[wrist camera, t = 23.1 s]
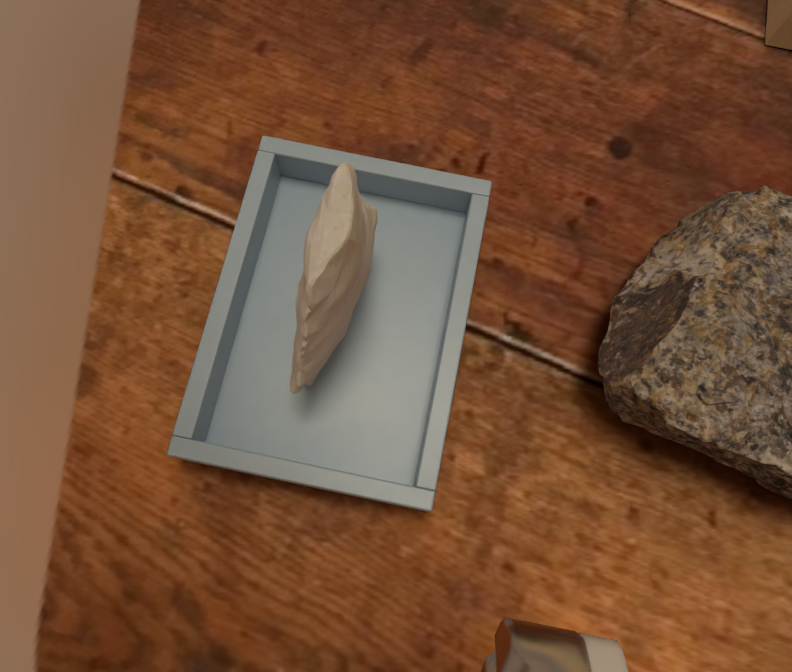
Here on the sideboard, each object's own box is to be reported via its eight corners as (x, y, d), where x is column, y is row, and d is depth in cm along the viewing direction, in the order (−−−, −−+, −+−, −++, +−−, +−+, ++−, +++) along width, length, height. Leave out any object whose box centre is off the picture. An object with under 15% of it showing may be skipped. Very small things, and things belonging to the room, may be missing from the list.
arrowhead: (330, 417, 27) (307, 365, 18) (279, 399, 28) (228, 338, 18) (390, 251, 30) (399, 125, 20) (343, 236, 30) (329, 102, 20)
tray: (426, 511, 27) (432, 511, 25) (184, 460, 27) (165, 454, 25) (483, 206, 31) (492, 180, 28) (270, 163, 31) (262, 134, 29)
